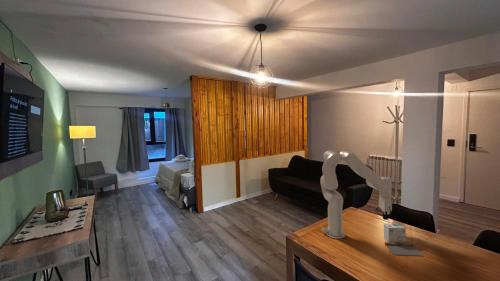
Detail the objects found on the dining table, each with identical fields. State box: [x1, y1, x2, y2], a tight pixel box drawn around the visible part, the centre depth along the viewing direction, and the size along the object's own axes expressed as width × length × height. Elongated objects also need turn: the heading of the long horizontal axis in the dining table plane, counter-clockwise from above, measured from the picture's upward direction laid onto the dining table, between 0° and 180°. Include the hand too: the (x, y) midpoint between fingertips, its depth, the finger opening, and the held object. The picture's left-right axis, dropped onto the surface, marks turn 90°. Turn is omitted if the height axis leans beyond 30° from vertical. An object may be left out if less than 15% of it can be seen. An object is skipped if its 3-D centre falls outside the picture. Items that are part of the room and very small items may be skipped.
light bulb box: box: [383, 222, 407, 243], centre depth 141 cm, size 11×7×11 cm, turn 84°
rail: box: [384, 241, 414, 247], centre depth 136 cm, size 16×2×2 cm, turn 81°
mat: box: [385, 245, 424, 257], centre depth 130 cm, size 16×10×1 cm, turn 81°
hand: (385, 219), depth 153 cm, fingers closed
